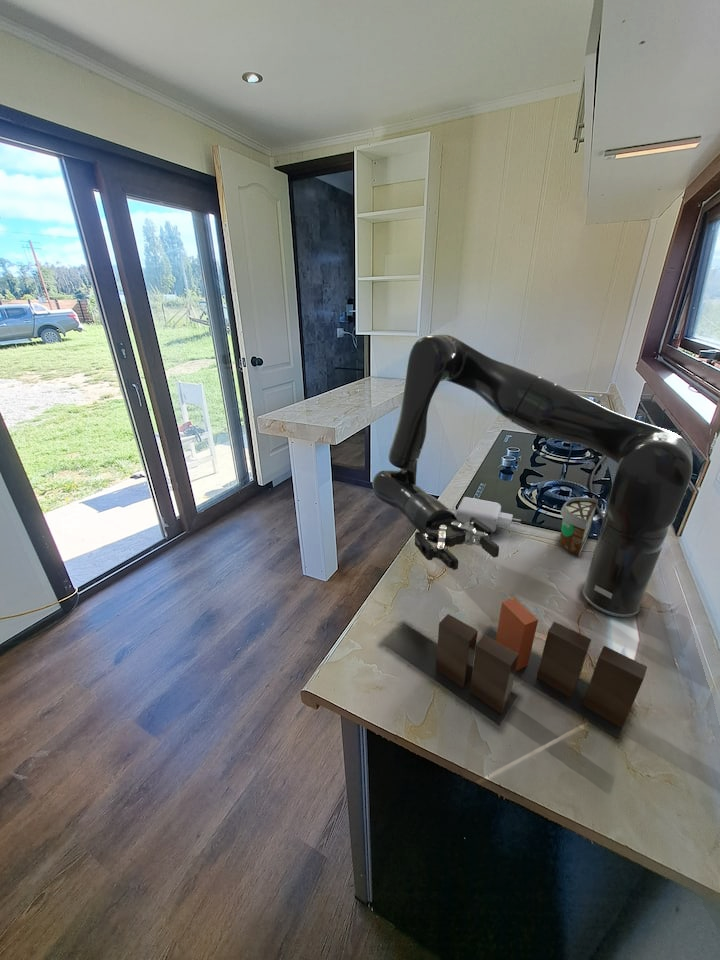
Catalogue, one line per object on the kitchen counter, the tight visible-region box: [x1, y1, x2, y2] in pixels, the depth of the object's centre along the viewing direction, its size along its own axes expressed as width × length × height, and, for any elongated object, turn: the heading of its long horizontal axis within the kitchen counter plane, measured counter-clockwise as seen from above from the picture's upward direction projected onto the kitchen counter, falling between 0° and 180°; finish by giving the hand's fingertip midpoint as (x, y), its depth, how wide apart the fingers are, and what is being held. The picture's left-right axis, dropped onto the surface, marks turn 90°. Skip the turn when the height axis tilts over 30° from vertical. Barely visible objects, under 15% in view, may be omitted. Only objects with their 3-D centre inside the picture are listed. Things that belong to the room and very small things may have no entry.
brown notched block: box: [486, 621, 648, 741], centre depth 57 cm, size 6×21×10 cm, turn 47°
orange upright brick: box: [496, 597, 539, 671], centre depth 61 cm, size 2×5×10 cm, turn 22°
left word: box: [383, 613, 519, 727], centre depth 59 cm, size 6×21×10 cm, turn 47°
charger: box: [455, 496, 522, 532], centre depth 98 cm, size 5×9×15 cm
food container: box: [559, 496, 599, 557], centre depth 89 cm, size 12×6×10 cm, turn 141°
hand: (477, 559), depth 67 cm, fingers open, 8 cm apart
